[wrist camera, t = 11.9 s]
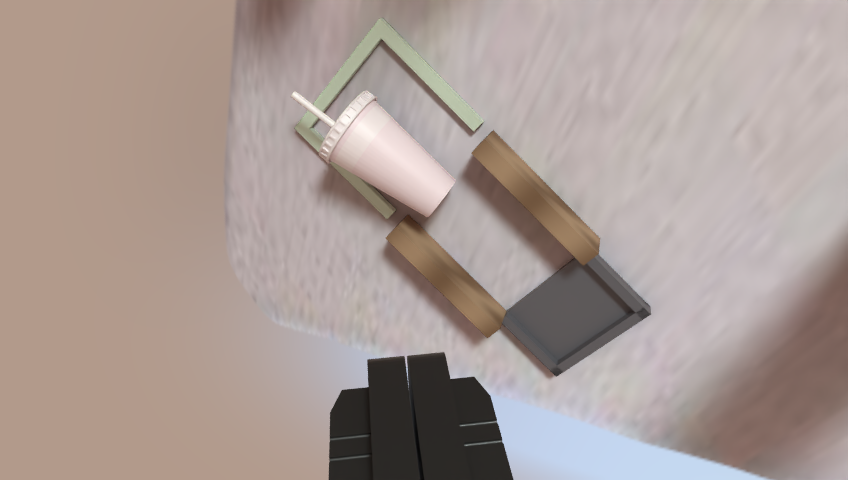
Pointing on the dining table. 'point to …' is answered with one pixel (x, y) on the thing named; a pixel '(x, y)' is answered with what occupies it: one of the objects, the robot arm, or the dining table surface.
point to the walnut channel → (531, 196)
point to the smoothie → (382, 154)
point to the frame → (346, 73)
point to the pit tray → (575, 313)
